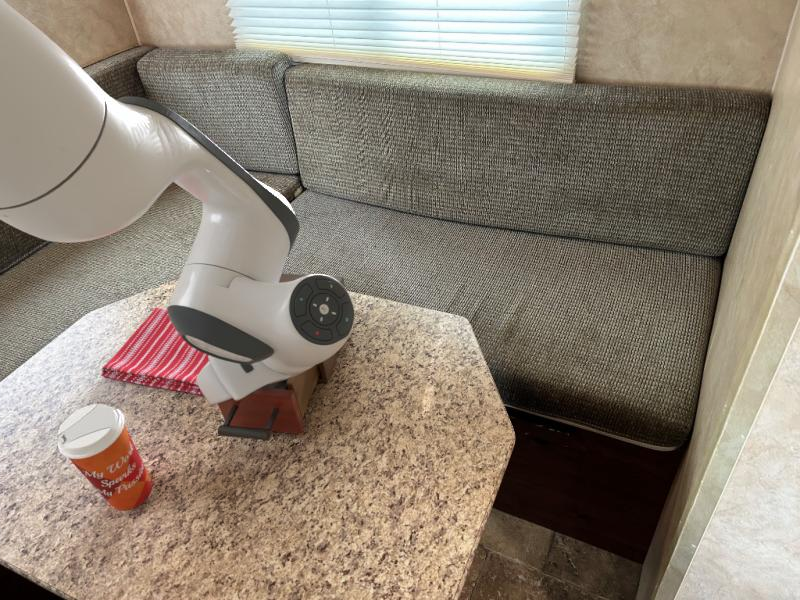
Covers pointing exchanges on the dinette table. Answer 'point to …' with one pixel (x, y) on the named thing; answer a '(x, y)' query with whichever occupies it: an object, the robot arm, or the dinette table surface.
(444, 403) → the dinette table surface
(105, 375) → the dish towel
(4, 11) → the robot arm
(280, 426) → the drawer
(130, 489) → the paper cup
